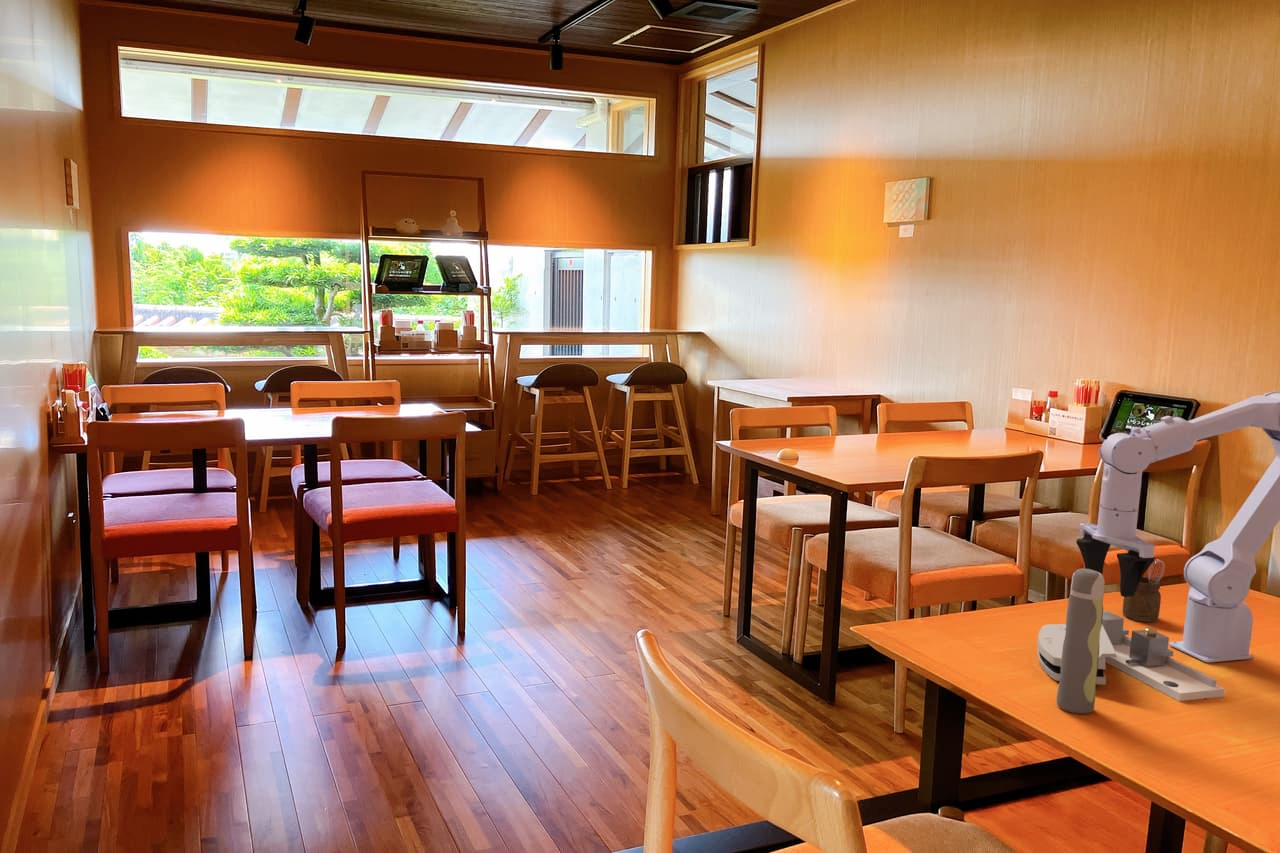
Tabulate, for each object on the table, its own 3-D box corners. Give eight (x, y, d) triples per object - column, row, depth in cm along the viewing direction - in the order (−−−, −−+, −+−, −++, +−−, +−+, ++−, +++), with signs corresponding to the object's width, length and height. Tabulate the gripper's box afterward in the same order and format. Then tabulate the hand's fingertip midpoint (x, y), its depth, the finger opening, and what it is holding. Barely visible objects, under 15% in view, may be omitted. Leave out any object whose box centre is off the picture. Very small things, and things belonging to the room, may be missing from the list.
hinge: (1116, 654, 144) (1042, 653, 147) (1117, 685, 144) (1044, 683, 147) (1098, 616, 160) (1032, 615, 162) (1099, 644, 160) (1033, 643, 163)
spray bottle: (1100, 710, 138) (1115, 572, 135) (1082, 718, 135) (1098, 578, 132) (1066, 698, 142) (1081, 563, 139) (1049, 706, 139) (1063, 569, 136)
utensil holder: (1160, 625, 175) (1168, 559, 173) (1121, 619, 177) (1128, 554, 175) (1156, 615, 180) (1164, 551, 179) (1118, 609, 183) (1125, 546, 181)
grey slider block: (1118, 658, 154) (1122, 626, 153) (1157, 655, 156) (1161, 623, 155) (1135, 667, 151) (1139, 634, 150) (1175, 664, 153) (1179, 631, 152)
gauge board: (1074, 645, 163) (1077, 613, 162) (1114, 642, 165) (1118, 610, 165) (1179, 701, 142) (1183, 664, 142) (1223, 696, 144) (1228, 660, 144)
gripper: (1067, 498, 166) (1059, 576, 168) (1131, 519, 152) (1122, 604, 154) (1102, 497, 168) (1094, 574, 170) (1169, 517, 154) (1159, 601, 156)
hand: (1110, 588), depth 162 cm, fingers open, 7 cm apart
